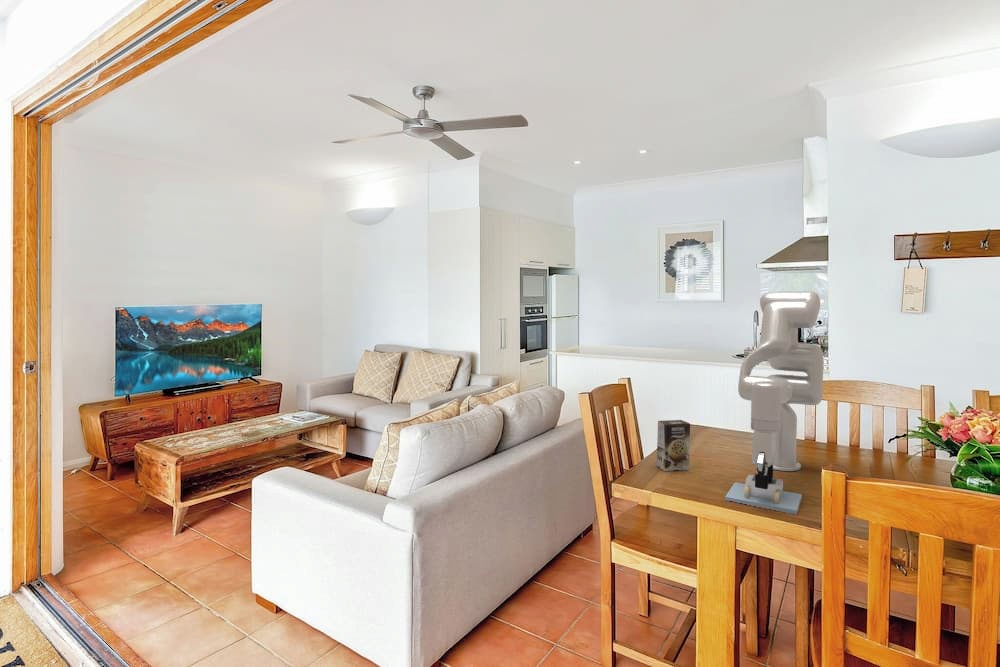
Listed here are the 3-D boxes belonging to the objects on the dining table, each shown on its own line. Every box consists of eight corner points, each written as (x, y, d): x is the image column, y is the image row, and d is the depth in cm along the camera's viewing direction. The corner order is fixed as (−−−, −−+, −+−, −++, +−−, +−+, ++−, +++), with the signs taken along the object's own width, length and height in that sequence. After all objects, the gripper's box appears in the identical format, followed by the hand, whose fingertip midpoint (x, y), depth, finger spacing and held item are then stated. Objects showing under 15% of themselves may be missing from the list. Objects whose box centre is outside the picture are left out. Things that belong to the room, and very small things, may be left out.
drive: (748, 489, 156) (748, 474, 156) (782, 495, 151) (782, 479, 151) (745, 495, 151) (745, 479, 151) (780, 501, 146) (780, 485, 146)
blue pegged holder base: (734, 486, 162) (735, 472, 162) (801, 498, 152) (802, 483, 151) (725, 500, 150) (725, 486, 150) (796, 514, 140) (797, 499, 140)
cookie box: (665, 471, 176) (665, 424, 175) (656, 465, 182) (656, 420, 181) (690, 470, 177) (690, 423, 176) (680, 464, 184) (681, 418, 182)
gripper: (756, 416, 159) (754, 471, 160) (745, 429, 145) (744, 489, 146) (783, 419, 155) (782, 476, 156) (775, 433, 140) (774, 495, 142)
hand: (764, 482), depth 151 cm, fingers open, 9 cm apart
